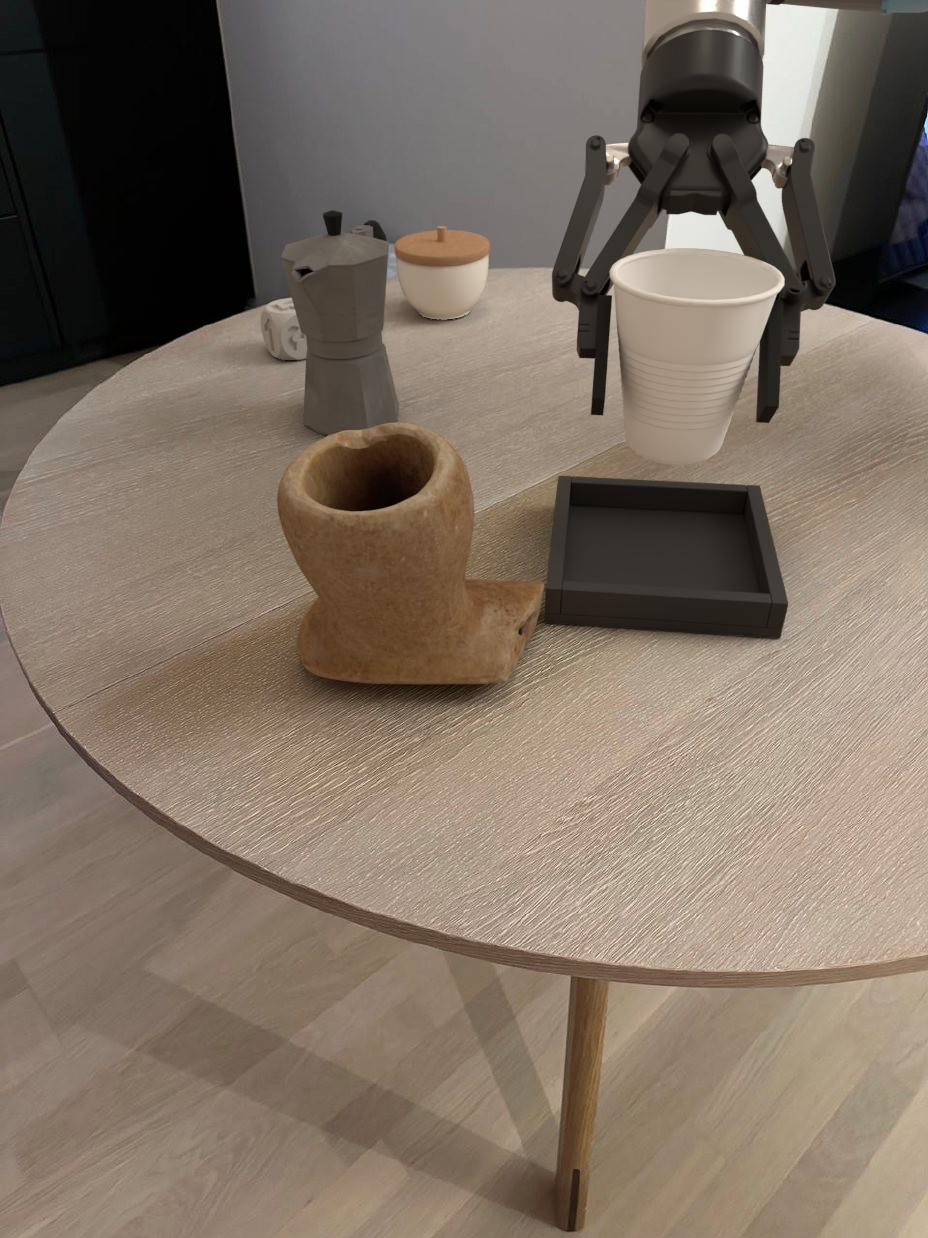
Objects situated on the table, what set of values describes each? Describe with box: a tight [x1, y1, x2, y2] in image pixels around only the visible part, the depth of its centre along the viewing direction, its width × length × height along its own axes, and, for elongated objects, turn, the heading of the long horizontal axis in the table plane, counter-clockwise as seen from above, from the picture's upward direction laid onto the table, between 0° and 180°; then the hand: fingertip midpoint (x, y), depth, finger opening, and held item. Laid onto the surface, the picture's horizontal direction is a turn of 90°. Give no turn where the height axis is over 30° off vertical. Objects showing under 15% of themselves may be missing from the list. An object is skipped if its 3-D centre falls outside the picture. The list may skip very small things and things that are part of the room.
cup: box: [609, 247, 785, 466], centre depth 57 cm, size 10×10×11 cm
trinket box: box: [393, 225, 491, 321], centre depth 106 cm, size 11×11×9 cm
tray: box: [543, 475, 789, 640], centre depth 65 cm, size 15×15×3 cm
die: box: [260, 297, 307, 361], centre depth 98 cm, size 5×5×5 cm
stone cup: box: [276, 422, 546, 685], centre depth 53 cm, size 15×12×15 cm
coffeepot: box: [280, 209, 400, 436], centre depth 82 cm, size 15×9×18 cm, turn 159°
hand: (681, 410), depth 55 cm, fingers closed on cup, 9 cm apart
